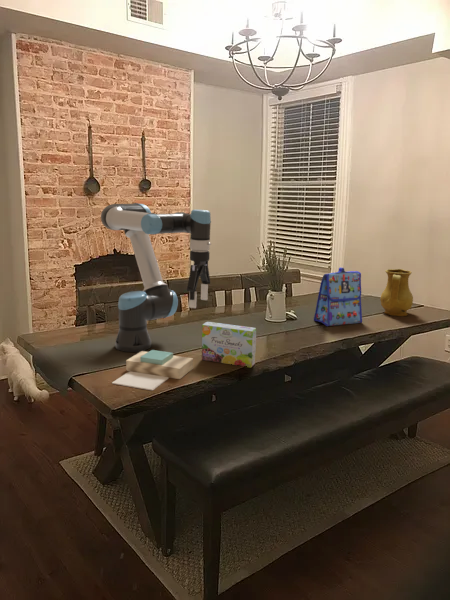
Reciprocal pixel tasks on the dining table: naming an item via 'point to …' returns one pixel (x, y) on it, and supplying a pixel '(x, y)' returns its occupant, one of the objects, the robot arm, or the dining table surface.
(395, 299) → the pitcher
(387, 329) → the dining table surface
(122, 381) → the mat
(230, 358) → the snack box
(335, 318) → the lunch bag
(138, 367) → the board
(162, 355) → the coaster
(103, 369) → the dining table surface
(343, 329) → the dining table surface
